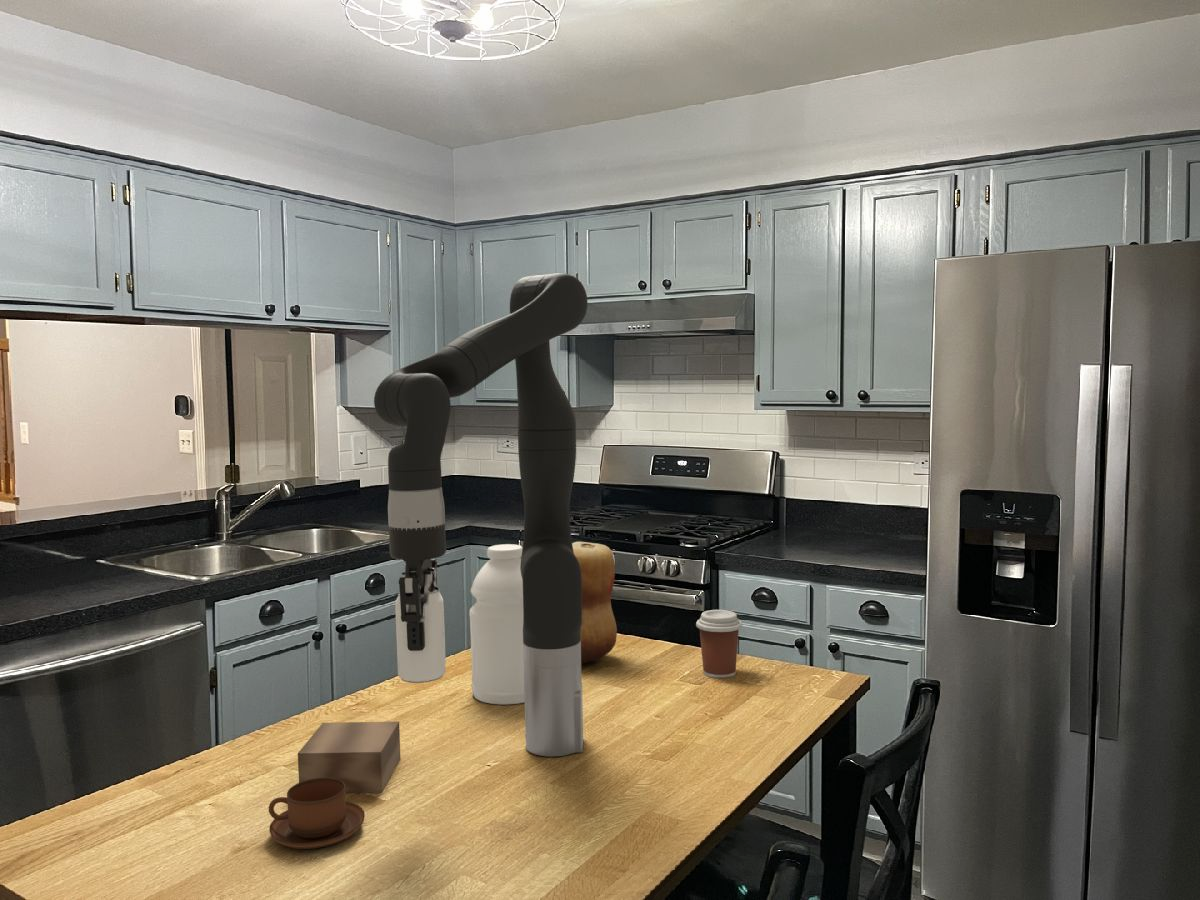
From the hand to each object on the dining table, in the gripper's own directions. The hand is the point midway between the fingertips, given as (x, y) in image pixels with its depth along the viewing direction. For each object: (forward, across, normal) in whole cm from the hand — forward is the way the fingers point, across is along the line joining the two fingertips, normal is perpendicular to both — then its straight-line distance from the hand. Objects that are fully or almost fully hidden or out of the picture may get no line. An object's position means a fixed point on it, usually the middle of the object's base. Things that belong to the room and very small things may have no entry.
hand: (421, 642), depth 127 cm
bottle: (+24, +47, -7) cm, 53 cm away
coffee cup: (+24, +57, -48) cm, 78 cm away
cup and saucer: (+24, -6, +13) cm, 28 cm away
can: (+5, 0, 0) cm, 5 cm away
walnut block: (+23, +12, +14) cm, 29 cm away
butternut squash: (+24, +66, -21) cm, 74 cm away
